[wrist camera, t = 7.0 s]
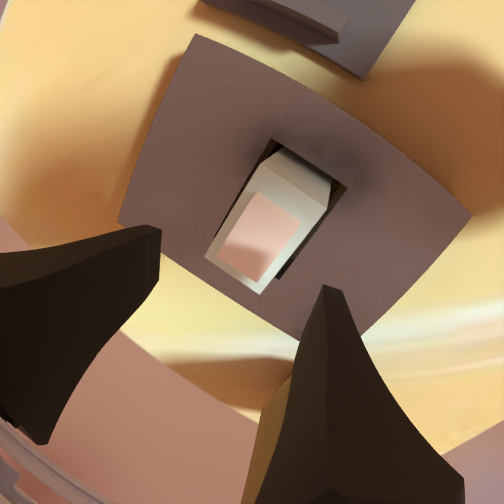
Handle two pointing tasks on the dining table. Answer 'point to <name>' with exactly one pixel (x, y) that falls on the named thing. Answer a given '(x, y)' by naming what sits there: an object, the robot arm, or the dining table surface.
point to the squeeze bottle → (266, 441)
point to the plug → (270, 218)
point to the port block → (246, 163)
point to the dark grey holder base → (328, 25)
